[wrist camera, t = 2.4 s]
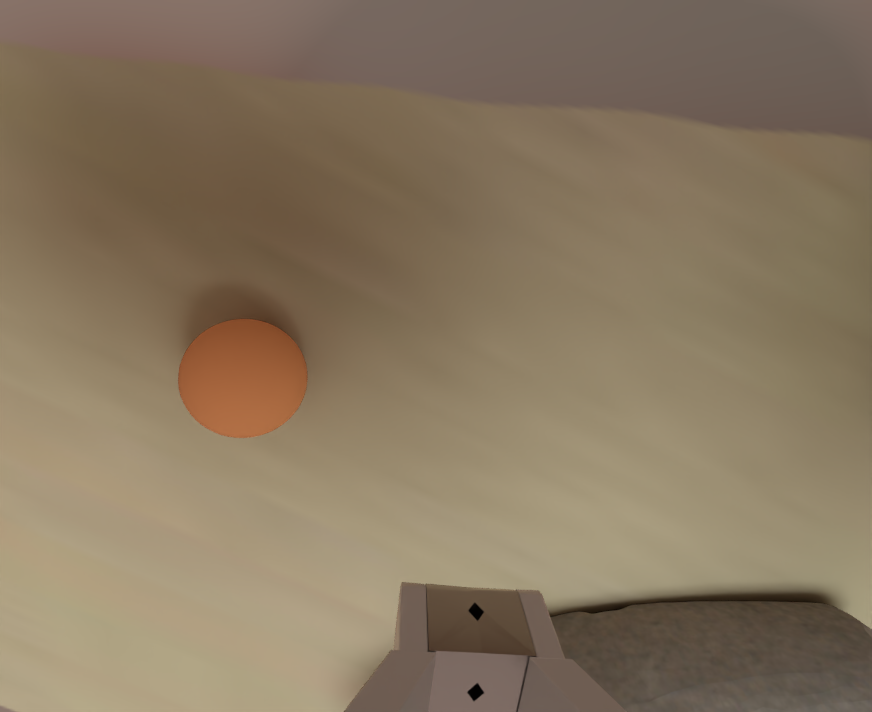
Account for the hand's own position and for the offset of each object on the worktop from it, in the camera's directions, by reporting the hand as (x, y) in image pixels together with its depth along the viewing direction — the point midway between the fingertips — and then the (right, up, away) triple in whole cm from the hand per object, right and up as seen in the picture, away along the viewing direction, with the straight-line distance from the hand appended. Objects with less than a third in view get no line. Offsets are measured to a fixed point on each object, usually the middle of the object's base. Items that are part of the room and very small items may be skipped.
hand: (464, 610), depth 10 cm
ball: (-9, +4, +11) cm, 15 cm away
